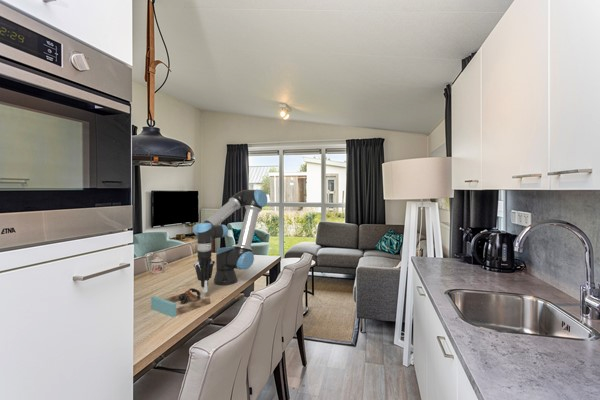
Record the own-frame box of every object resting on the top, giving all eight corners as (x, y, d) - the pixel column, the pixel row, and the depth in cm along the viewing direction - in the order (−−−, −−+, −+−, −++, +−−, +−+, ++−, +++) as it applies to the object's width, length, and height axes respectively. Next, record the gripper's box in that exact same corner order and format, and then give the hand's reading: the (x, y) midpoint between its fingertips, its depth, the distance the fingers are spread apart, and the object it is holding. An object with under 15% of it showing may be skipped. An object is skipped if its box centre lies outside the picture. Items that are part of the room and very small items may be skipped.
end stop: (155, 307, 157) (154, 295, 157) (176, 315, 146) (176, 303, 146) (151, 308, 156) (151, 297, 156) (172, 317, 145) (172, 304, 145)
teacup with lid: (150, 274, 223) (149, 258, 223) (151, 271, 231) (151, 256, 231) (167, 272, 227) (167, 257, 227) (168, 270, 235) (168, 255, 235)
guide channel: (188, 296, 174) (188, 291, 174) (210, 303, 163) (210, 298, 163) (155, 307, 157) (154, 301, 157) (176, 315, 146) (176, 309, 146)
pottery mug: (189, 298, 172) (196, 286, 172) (198, 309, 167) (205, 297, 166) (171, 299, 162) (179, 286, 162) (180, 311, 157) (188, 297, 156)
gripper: (198, 252, 164) (199, 296, 164) (218, 249, 174) (218, 290, 175) (190, 251, 168) (190, 293, 168) (209, 248, 178) (209, 287, 179)
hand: (204, 291), depth 171 cm, fingers closed
